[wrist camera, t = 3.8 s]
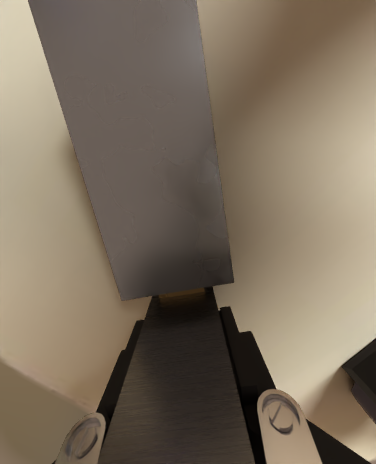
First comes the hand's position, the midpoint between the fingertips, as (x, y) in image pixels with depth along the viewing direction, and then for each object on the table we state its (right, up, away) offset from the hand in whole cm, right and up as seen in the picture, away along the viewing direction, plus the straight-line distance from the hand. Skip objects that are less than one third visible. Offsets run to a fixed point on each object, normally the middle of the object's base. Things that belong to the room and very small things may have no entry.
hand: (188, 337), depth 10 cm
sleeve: (-2, +10, +2) cm, 10 cm away
